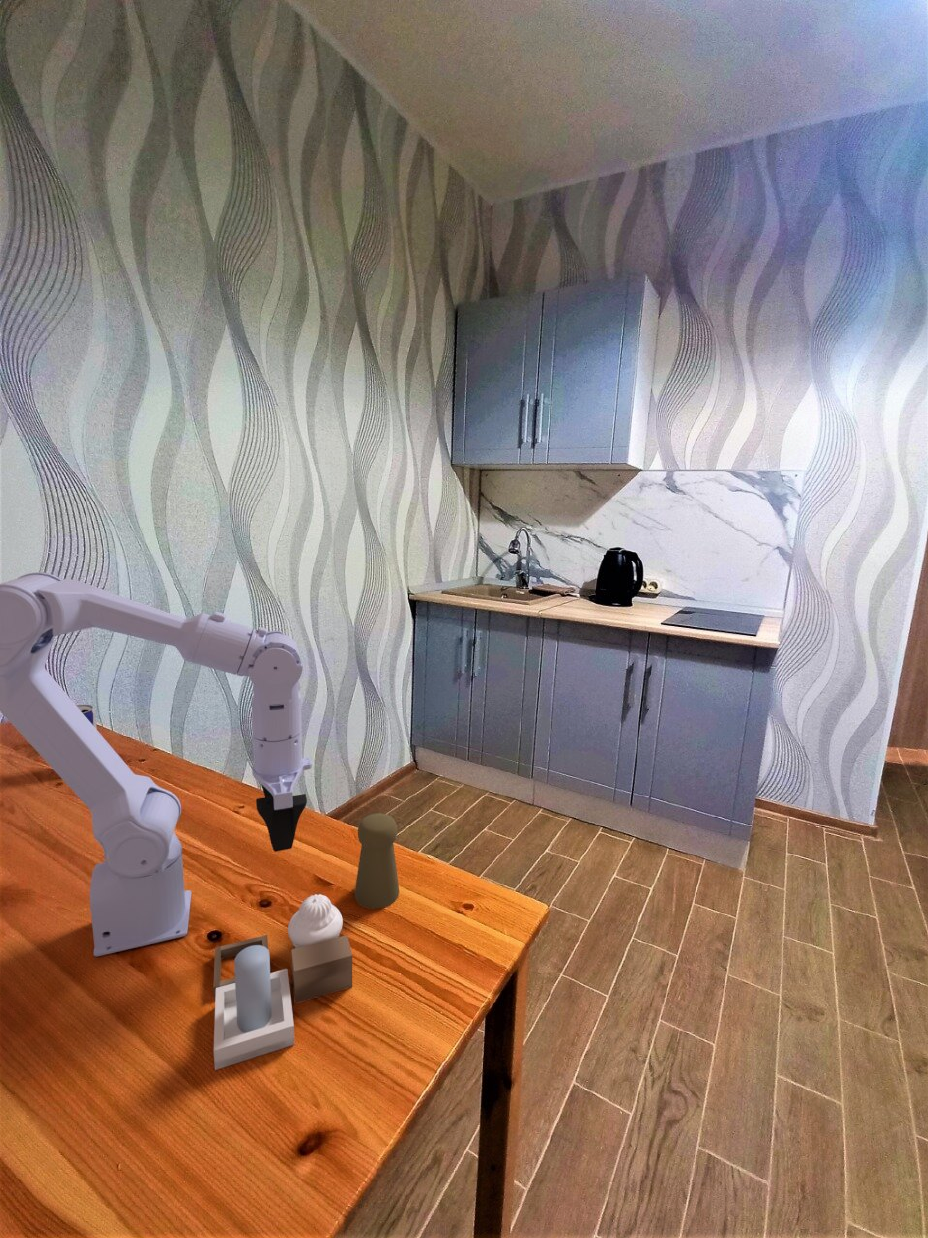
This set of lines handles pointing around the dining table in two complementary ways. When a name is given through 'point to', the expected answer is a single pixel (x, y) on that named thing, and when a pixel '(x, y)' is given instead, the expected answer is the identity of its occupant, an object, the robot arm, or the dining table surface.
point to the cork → (377, 862)
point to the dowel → (252, 988)
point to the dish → (244, 1046)
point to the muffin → (315, 922)
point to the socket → (229, 952)
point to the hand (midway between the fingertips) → (280, 831)
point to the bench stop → (321, 968)
